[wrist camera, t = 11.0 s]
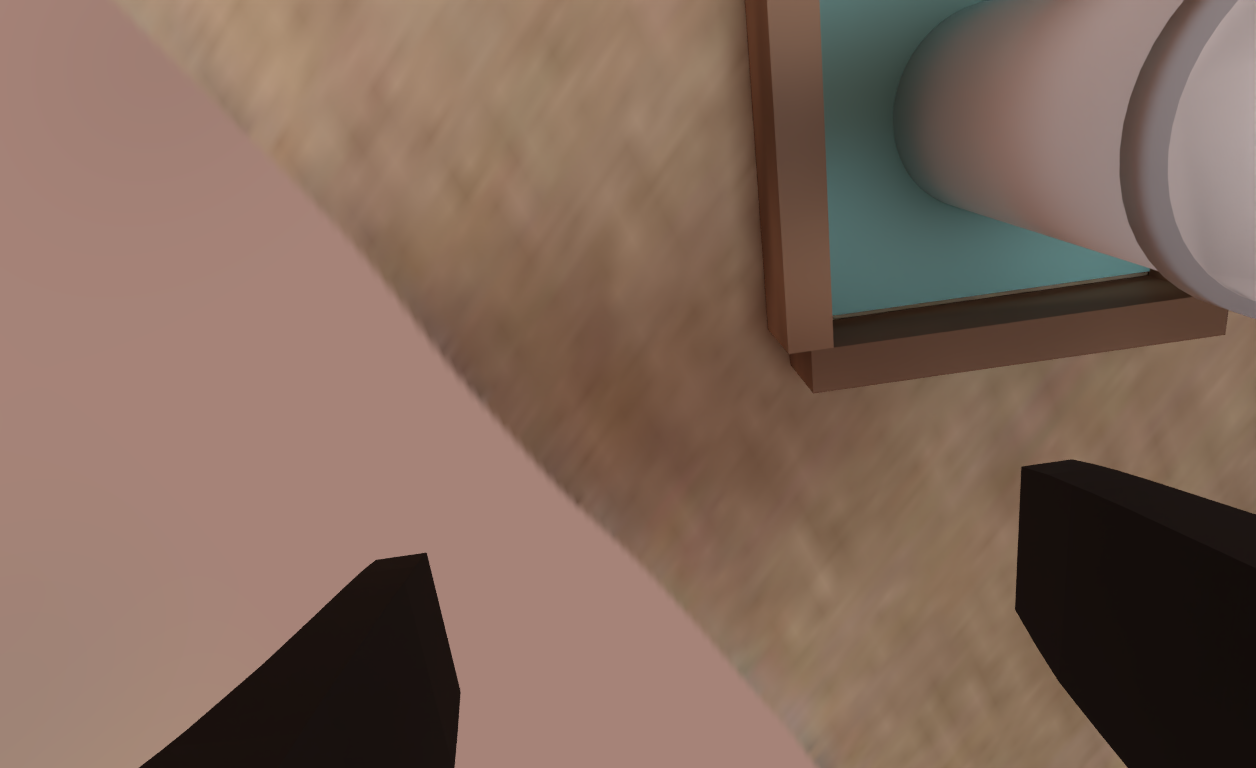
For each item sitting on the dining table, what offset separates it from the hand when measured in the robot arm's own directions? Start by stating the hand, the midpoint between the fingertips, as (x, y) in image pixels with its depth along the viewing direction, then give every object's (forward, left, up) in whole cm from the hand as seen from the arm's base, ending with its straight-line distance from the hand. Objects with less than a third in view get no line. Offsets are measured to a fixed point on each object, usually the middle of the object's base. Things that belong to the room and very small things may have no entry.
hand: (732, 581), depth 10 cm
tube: (+4, -8, -10) cm, 14 cm away
